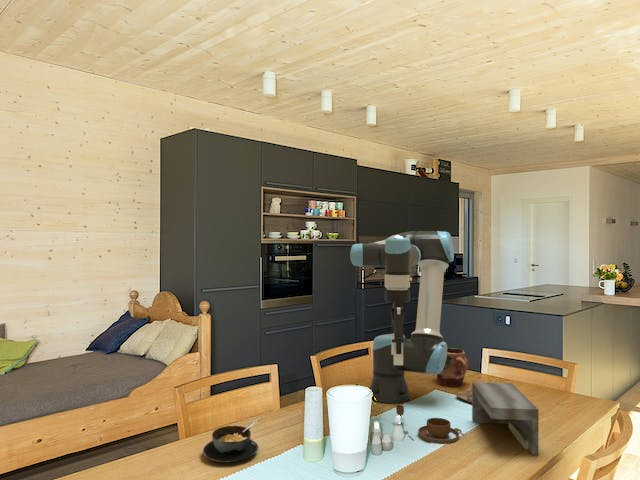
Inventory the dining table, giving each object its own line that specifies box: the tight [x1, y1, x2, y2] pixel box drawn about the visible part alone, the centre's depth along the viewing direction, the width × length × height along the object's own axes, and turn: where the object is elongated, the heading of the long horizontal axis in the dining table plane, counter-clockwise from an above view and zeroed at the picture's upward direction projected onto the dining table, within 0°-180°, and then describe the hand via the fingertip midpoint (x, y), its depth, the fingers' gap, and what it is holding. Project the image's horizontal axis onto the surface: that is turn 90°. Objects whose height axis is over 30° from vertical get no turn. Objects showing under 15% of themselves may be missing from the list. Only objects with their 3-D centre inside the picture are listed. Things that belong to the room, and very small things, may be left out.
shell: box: [455, 388, 472, 405], centre depth 184 cm, size 12×13×4 cm
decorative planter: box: [436, 347, 470, 387], centre depth 205 cm, size 20×12×14 cm, turn 20°
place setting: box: [395, 404, 466, 444], centre depth 155 cm, size 18×20×6 cm
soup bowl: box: [202, 418, 260, 463], centre depth 139 cm, size 15×16×7 cm
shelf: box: [471, 381, 540, 457], centre depth 150 cm, size 12×26×12 cm, turn 174°
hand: (397, 359), depth 152 cm, fingers open, 13 cm apart
